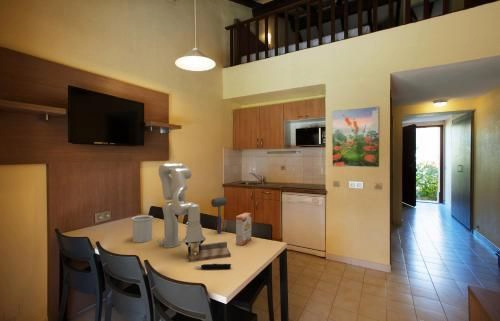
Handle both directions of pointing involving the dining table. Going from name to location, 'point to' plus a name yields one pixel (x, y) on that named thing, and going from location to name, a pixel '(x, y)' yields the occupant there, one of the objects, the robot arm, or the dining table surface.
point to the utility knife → (214, 266)
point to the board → (210, 252)
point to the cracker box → (243, 228)
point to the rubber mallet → (219, 210)
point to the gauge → (194, 248)
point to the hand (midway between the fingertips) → (194, 251)
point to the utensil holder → (142, 228)
